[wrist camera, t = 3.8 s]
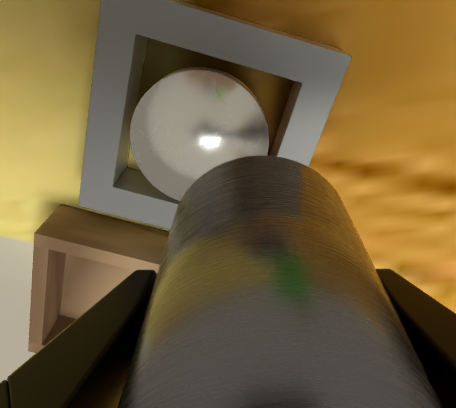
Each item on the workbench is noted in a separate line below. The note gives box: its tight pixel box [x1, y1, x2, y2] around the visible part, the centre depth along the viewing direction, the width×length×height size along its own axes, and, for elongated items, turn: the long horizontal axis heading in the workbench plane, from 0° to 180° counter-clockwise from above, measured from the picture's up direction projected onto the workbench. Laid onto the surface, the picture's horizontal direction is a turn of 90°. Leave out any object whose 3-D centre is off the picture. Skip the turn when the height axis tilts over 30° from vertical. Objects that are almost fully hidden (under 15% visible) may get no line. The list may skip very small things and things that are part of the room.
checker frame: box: [78, 0, 352, 229], centre depth 19 cm, size 10×10×2 cm
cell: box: [117, 155, 443, 408], centre depth 7 cm, size 4×4×8 cm
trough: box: [28, 204, 169, 353], centre depth 24 cm, size 18×8×3 cm, turn 75°
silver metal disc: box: [130, 67, 269, 201], centre depth 18 cm, size 6×6×1 cm
